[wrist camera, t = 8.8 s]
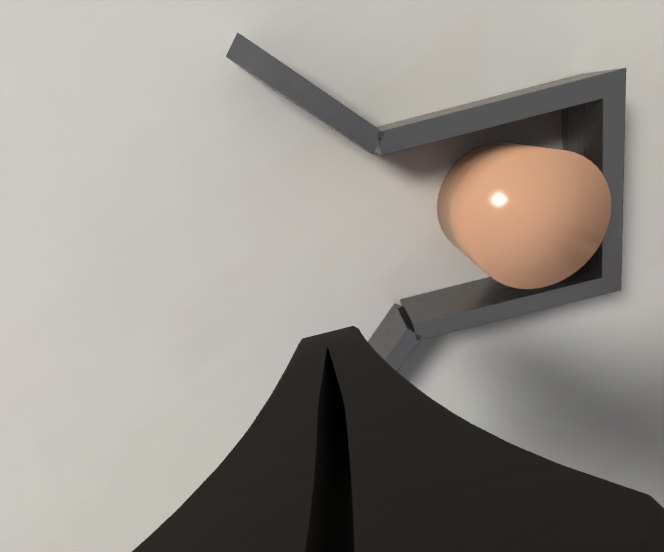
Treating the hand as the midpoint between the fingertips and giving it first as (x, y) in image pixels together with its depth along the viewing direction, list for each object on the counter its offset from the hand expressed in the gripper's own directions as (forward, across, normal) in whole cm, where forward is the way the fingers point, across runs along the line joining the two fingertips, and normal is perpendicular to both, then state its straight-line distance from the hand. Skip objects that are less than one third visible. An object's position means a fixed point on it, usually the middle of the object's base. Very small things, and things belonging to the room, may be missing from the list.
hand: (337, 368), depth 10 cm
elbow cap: (+10, -8, 0) cm, 12 cm away
